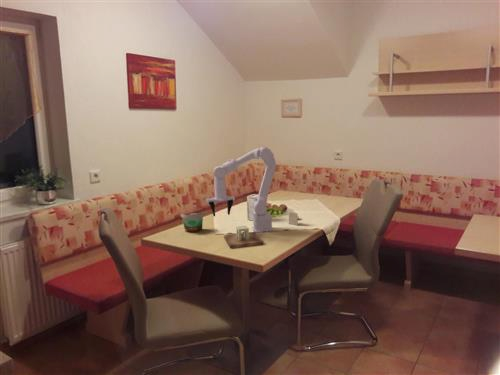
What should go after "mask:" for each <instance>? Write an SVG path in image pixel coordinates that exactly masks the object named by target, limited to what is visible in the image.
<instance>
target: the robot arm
mask: <svg viewBox="0 0 500 375" xmlns="http://www.w3.org/2000/svg"><path fill="white" fill-rule="evenodd" d="M253 159H254V160H255V159H257V160H259V159H261V160H262V161H263V162H264V164H265V166H266V167H265V169H264V174H263V177H262V180H261V184H260V188H259V192H258V193H257V195H258V196H257V198H256V200H255V201H254V203H253V208H254V209H255V211H254V212H253V221H252V222H253V226H252V227H251V229H252V232H255V233H262V232H269V231H270V232H271V231H273V219H272V214H271V212H267V208H268V207H267V203H268V195H269V192H270V188H271V186H272V181H273V178H274V175H275V171H276V169H277V162H276V160H275V154H274V153H273V152H272V150H271V149H270V148H268V146H265V145H262V146H260V147H257V148H255V149H252V150H250V151H249V152H247V153H246V154H243V155H242V156H240V157H238V158H237V159H235V158H229V159H227V161H226V162H224V163H220V164H219V165H218V166H215V167H214V169H213V175H214V177H213V180H214V182H213V185H214V197H210V198H206V200H205V201H206V204H208V205H209V207H210V209H211V211H212V215H213V217H216V211H215V209H216V207H215V203H219V202H220V203H221V202H226V206H227V214H228V216H230V215H231V210H232V207H233V204H234V202H235V199H236V197H235V196H227V189H226V180H225V177H226V175H228V174H229V175H230V174H231V173H232V172H234V171H237V170H238V169H239V166H240V165H242V164H245V163H247V162H249V161H251V160H253Z"/></svg>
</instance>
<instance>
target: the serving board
mask: <svg viewBox="0 0 500 375" xmlns="http://www.w3.org/2000/svg"><path fill="white" fill-rule="evenodd" d="M223 238H224V240H225V242H226V244H227V245H228V247H229V249H236V248H245V247H254V246H261V245H264V241H263V240H262V238H260V236H259V235H258V233H257V232H254V231H249V239H246V237H244V232H241V240H238V238H237V233H234V234H225V235H223Z"/></svg>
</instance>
